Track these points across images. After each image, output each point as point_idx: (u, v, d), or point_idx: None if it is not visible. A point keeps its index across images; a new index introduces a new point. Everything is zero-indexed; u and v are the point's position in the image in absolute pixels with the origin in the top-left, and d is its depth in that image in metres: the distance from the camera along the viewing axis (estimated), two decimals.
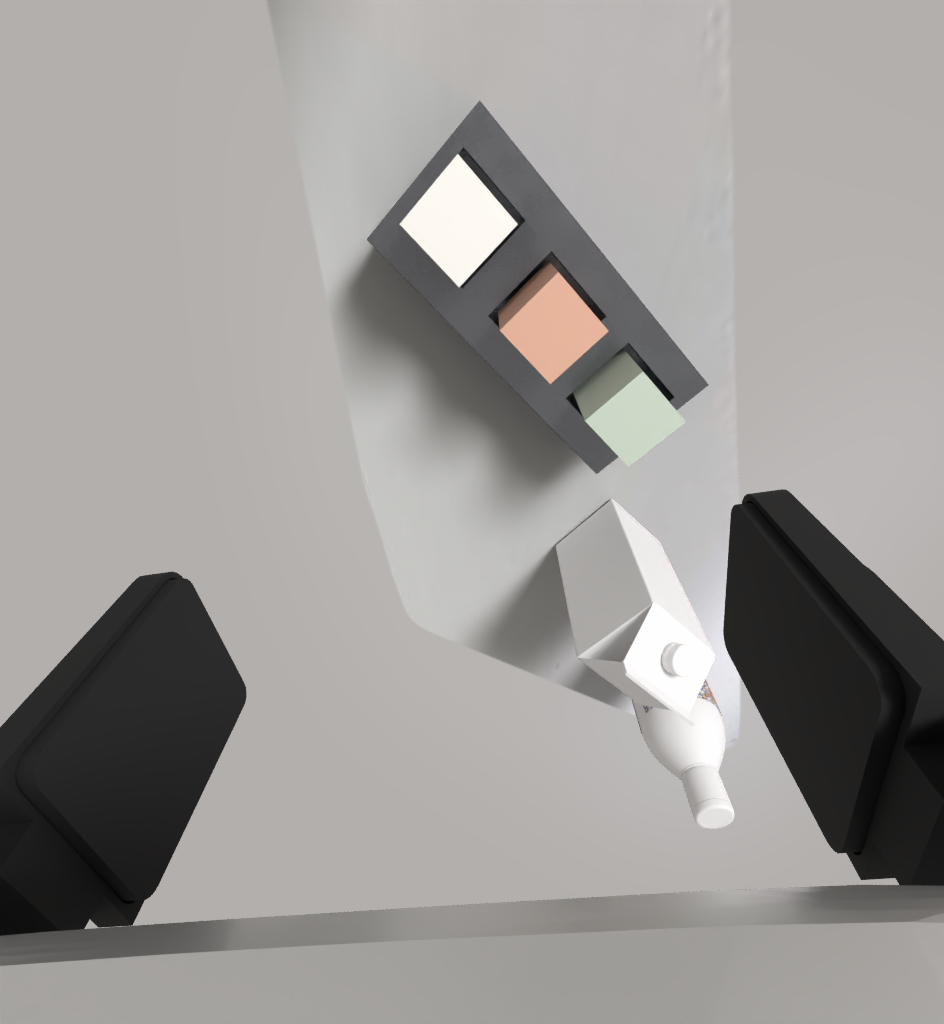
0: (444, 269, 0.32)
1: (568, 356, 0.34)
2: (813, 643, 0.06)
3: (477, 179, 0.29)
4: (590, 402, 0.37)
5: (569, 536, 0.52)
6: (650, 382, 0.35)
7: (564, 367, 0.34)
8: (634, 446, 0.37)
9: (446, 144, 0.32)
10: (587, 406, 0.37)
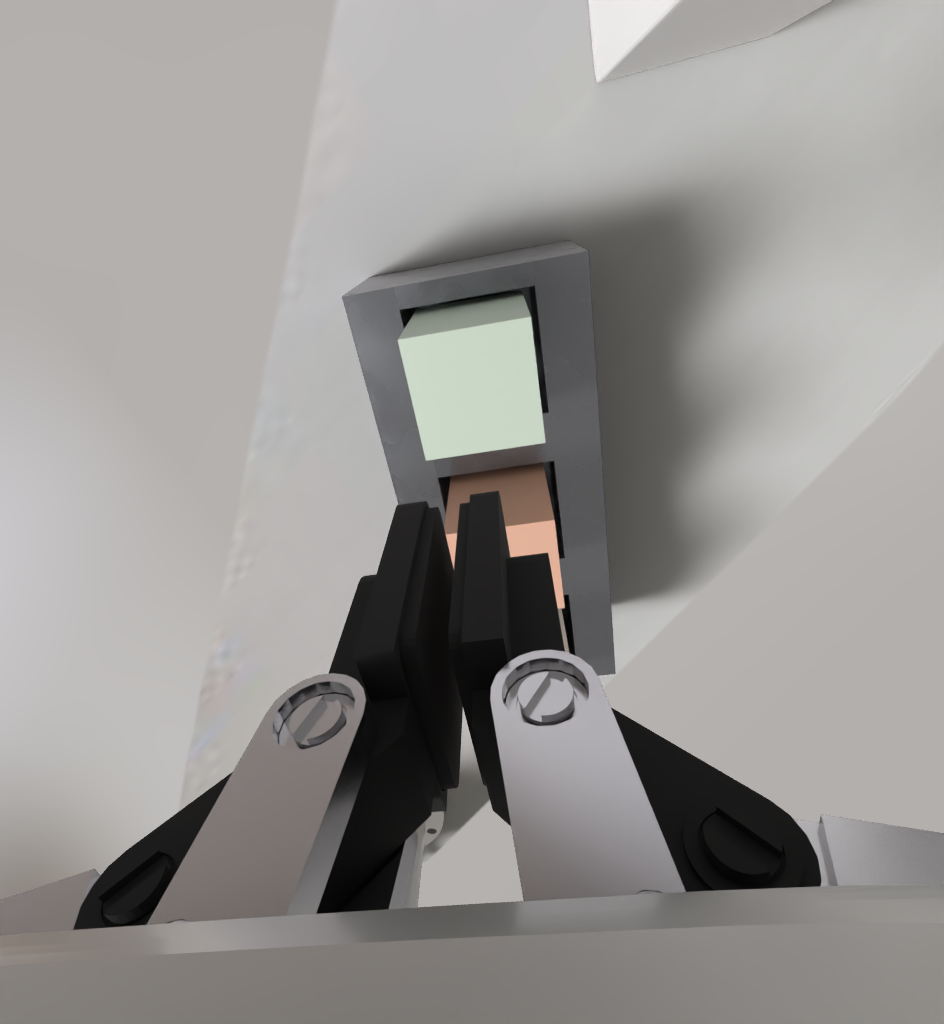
0: None
1: (509, 537, 0.23)
2: None
3: None
4: None
5: (727, 47, 0.23)
6: (423, 438, 0.21)
7: (522, 527, 0.23)
8: (499, 349, 0.19)
9: None
10: None
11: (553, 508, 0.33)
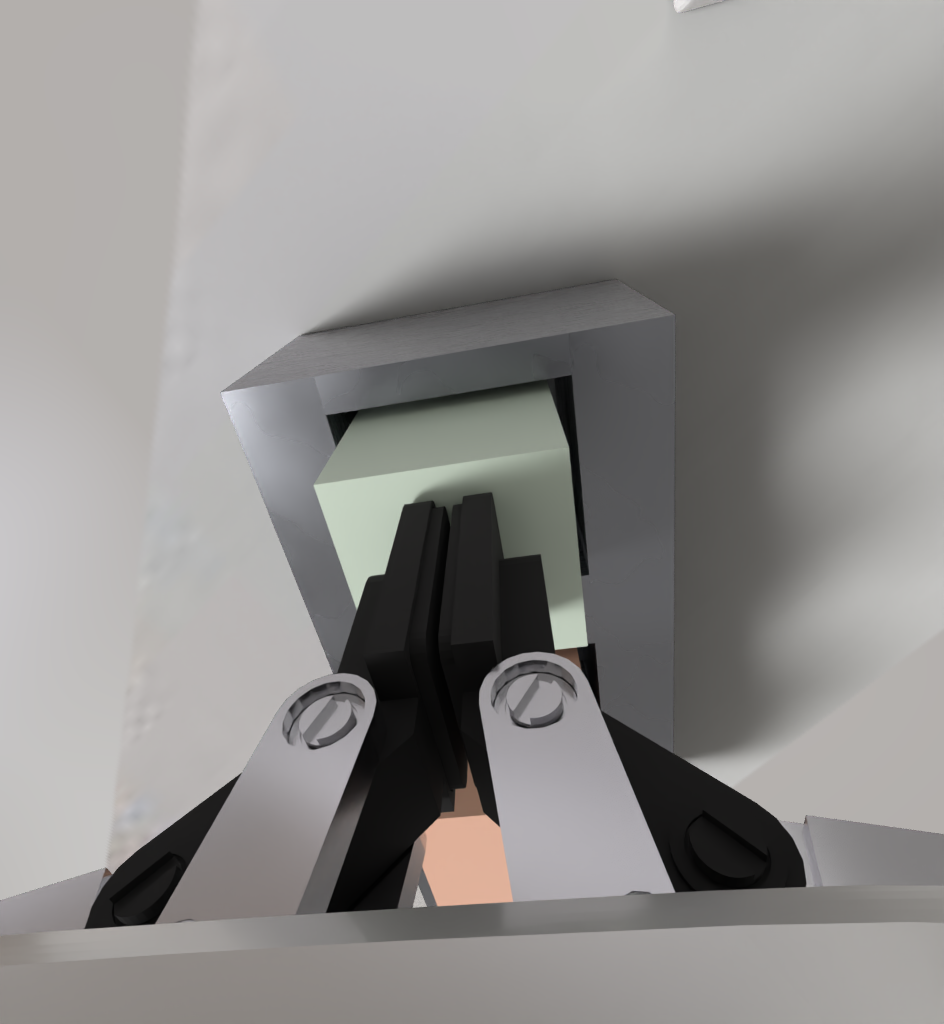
0: None
1: None
2: None
3: None
4: None
5: None
6: None
7: None
8: (507, 502, 0.10)
9: None
10: None
11: (581, 657, 0.23)
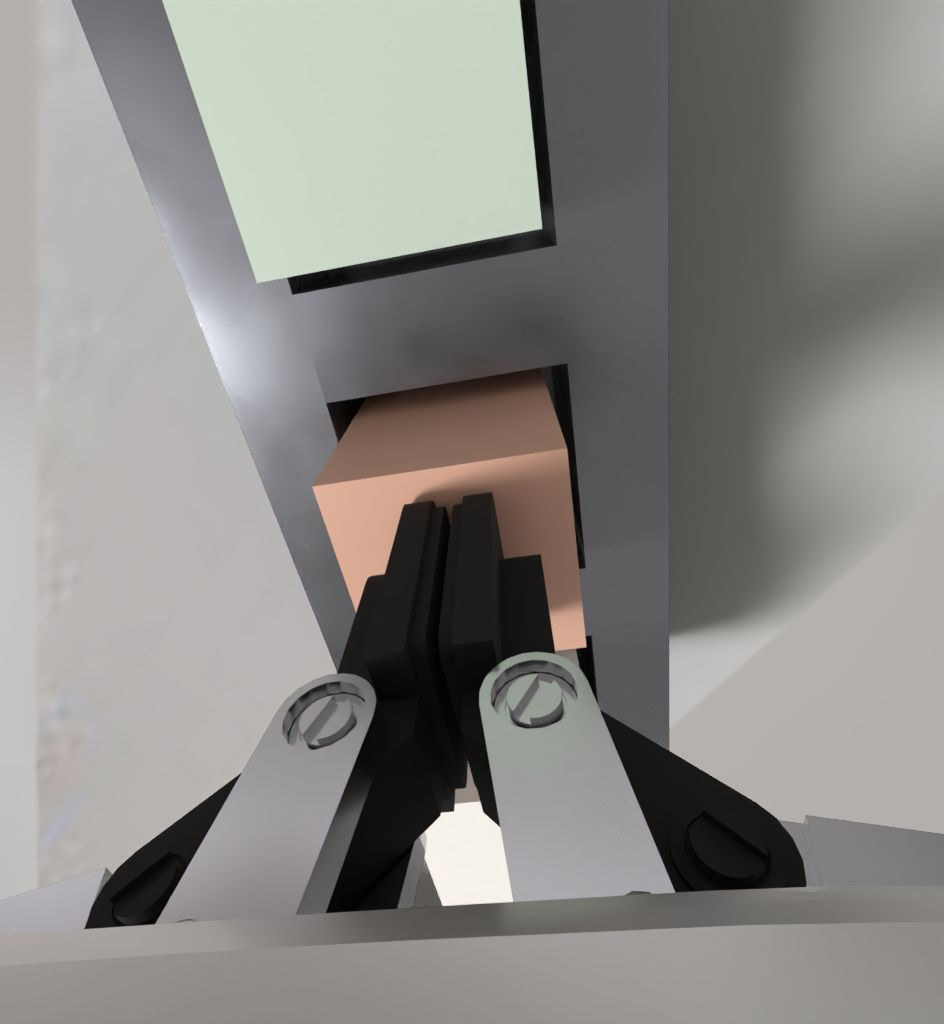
0: None
1: (462, 491, 0.10)
2: None
3: (435, 878, 0.14)
4: None
5: None
6: (242, 220, 0.09)
7: (493, 468, 0.10)
8: None
9: None
10: None
11: None
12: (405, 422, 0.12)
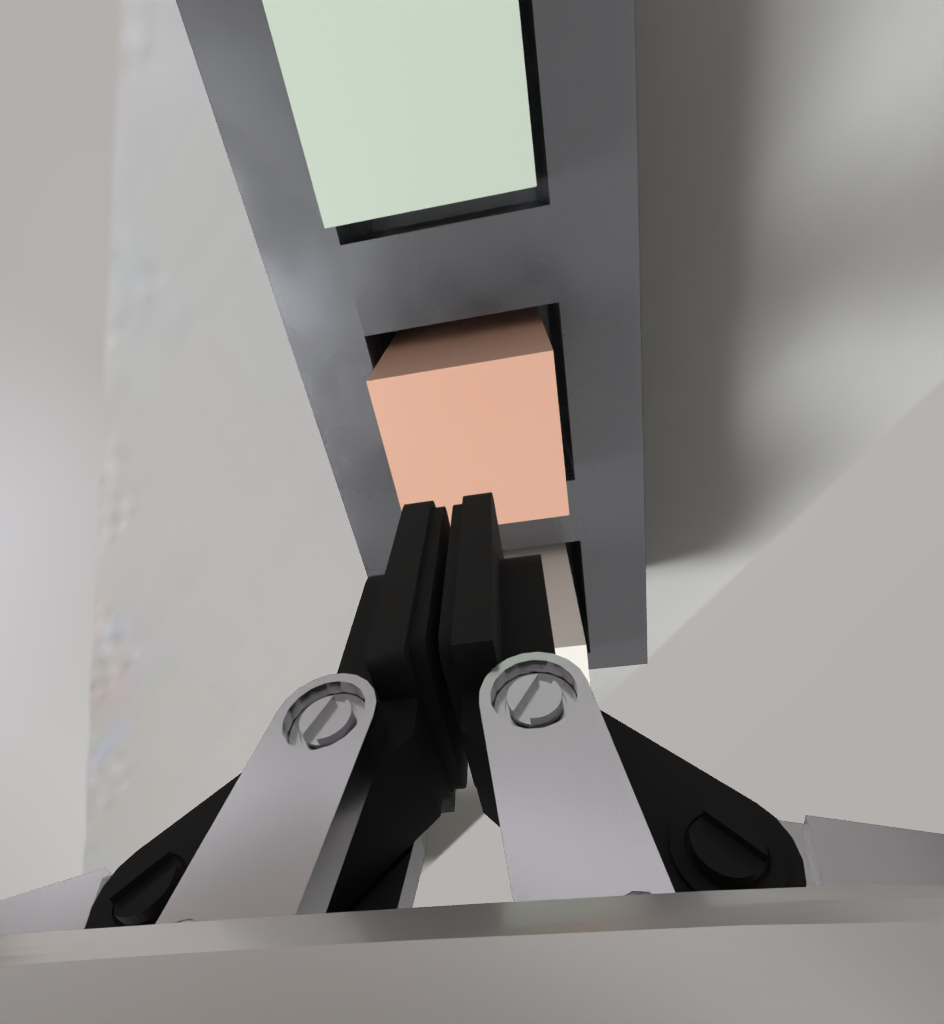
0: (586, 676, 0.16)
1: (476, 384, 0.14)
2: None
3: None
4: None
5: None
6: (316, 180, 0.12)
7: (499, 366, 0.13)
8: None
9: None
10: None
11: None
12: (430, 344, 0.16)
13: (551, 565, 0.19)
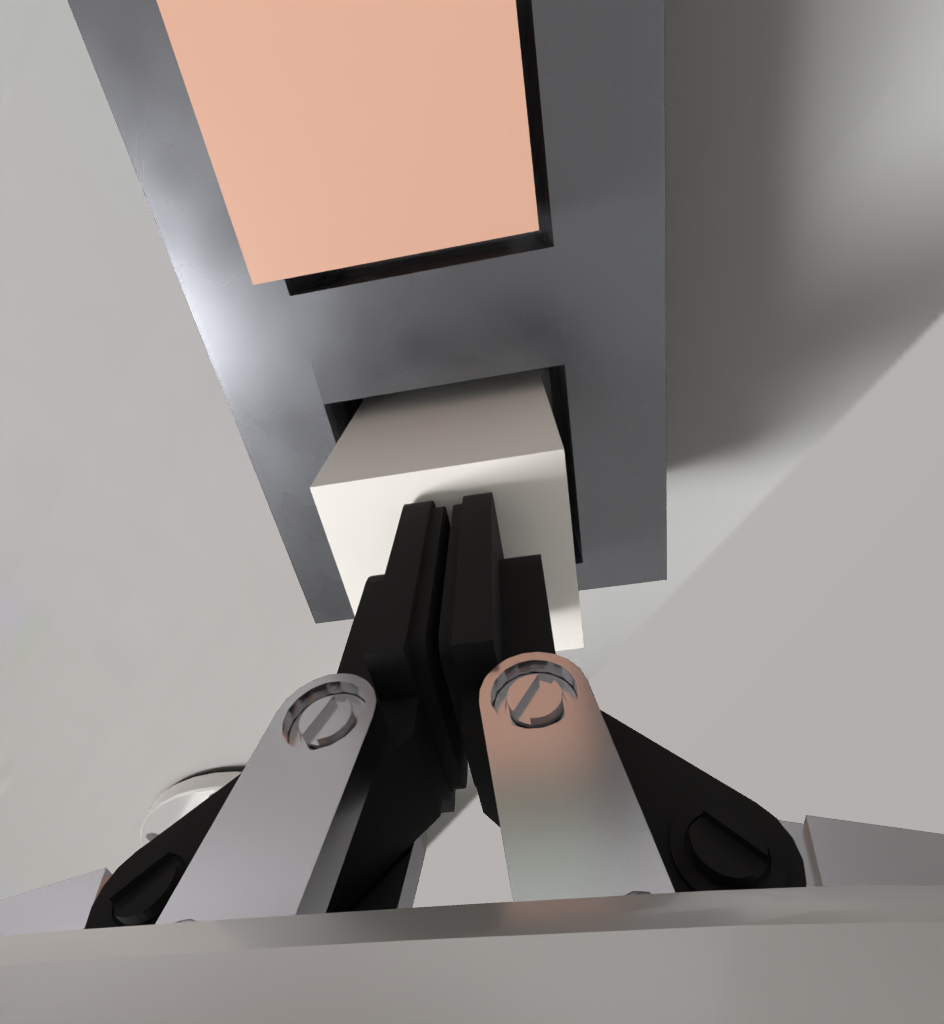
0: (565, 513, 0.10)
1: None
2: None
3: None
4: None
5: None
6: None
7: None
8: None
9: None
10: None
11: None
12: None
13: (517, 387, 0.13)
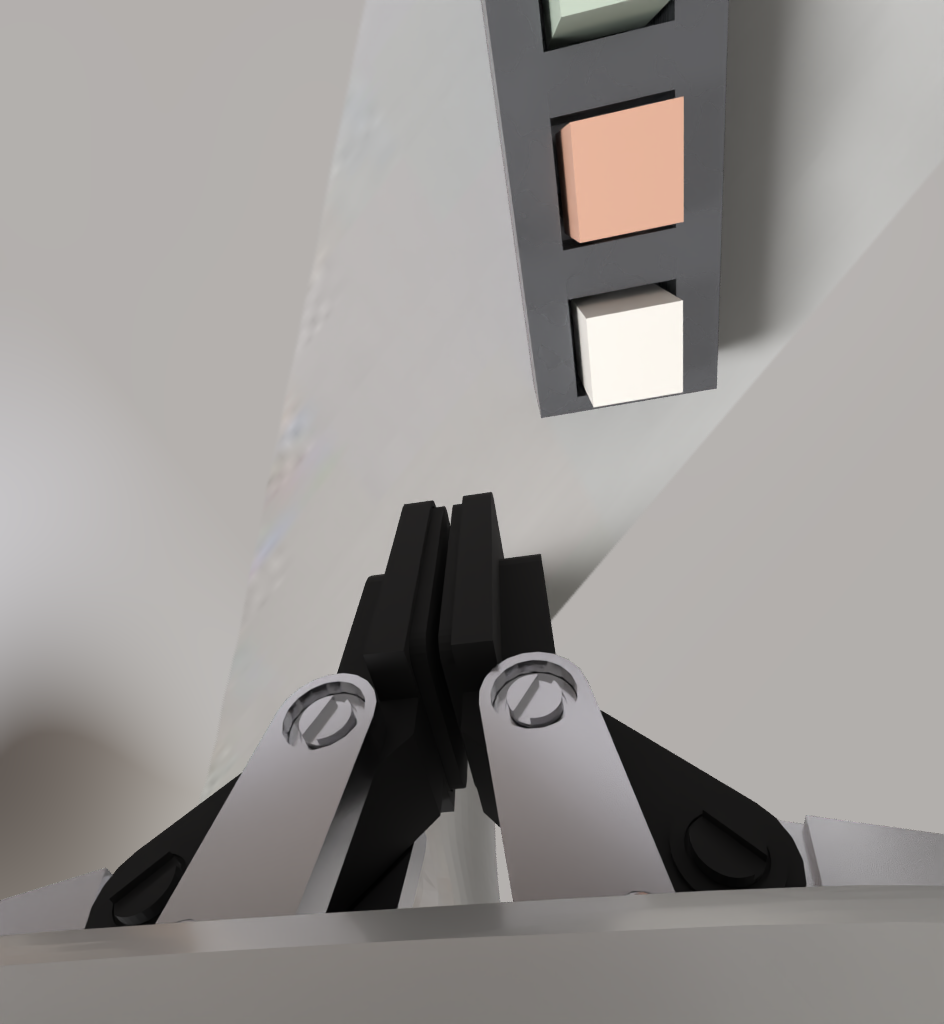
0: (681, 327, 0.27)
1: (636, 122, 0.23)
2: None
3: (592, 378, 0.29)
4: (648, 6, 0.23)
5: None
6: None
7: (650, 109, 0.23)
8: None
9: (589, 407, 0.32)
10: (656, 2, 0.22)
11: None
12: None
13: (649, 289, 0.30)
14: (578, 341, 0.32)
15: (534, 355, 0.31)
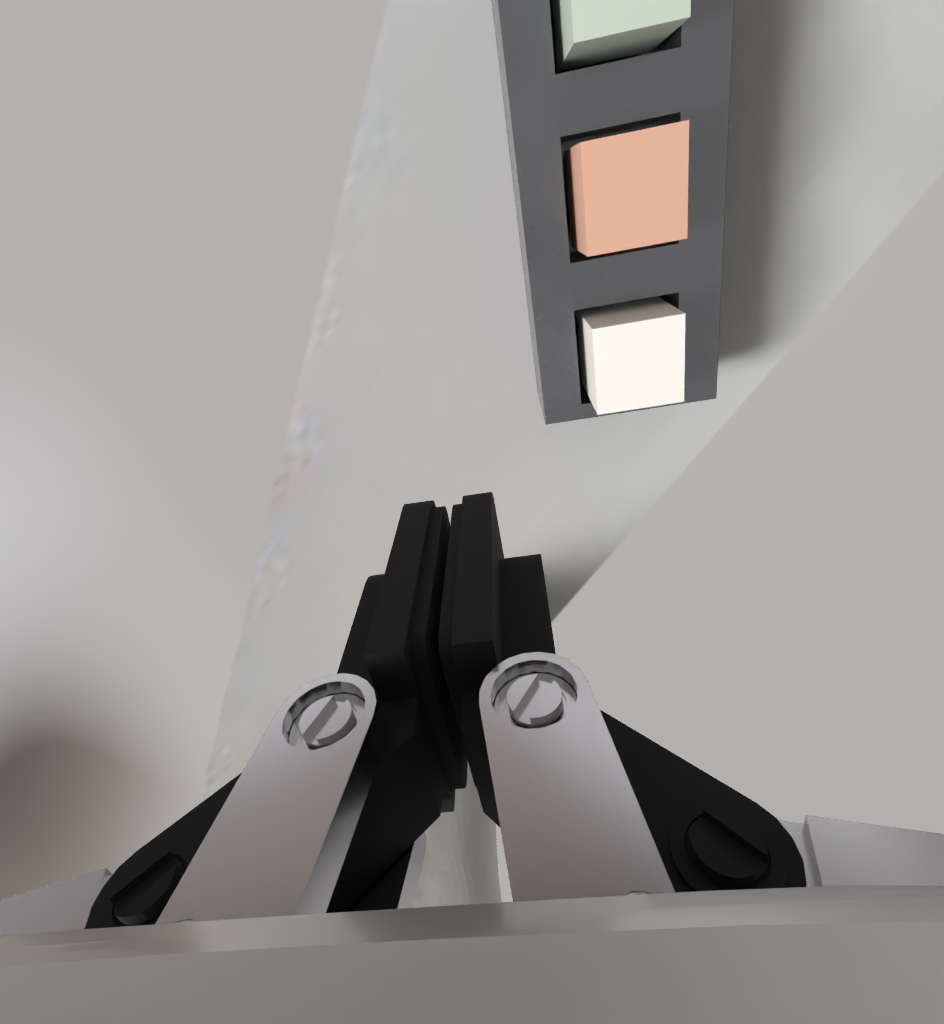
0: (683, 339, 0.28)
1: (643, 143, 0.24)
2: None
3: (597, 387, 0.30)
4: (656, 33, 0.24)
5: None
6: (574, 14, 0.22)
7: (657, 131, 0.24)
8: None
9: (592, 415, 0.33)
10: (664, 30, 0.23)
11: None
12: None
13: (652, 302, 0.31)
14: (583, 350, 0.33)
15: (540, 363, 0.32)
